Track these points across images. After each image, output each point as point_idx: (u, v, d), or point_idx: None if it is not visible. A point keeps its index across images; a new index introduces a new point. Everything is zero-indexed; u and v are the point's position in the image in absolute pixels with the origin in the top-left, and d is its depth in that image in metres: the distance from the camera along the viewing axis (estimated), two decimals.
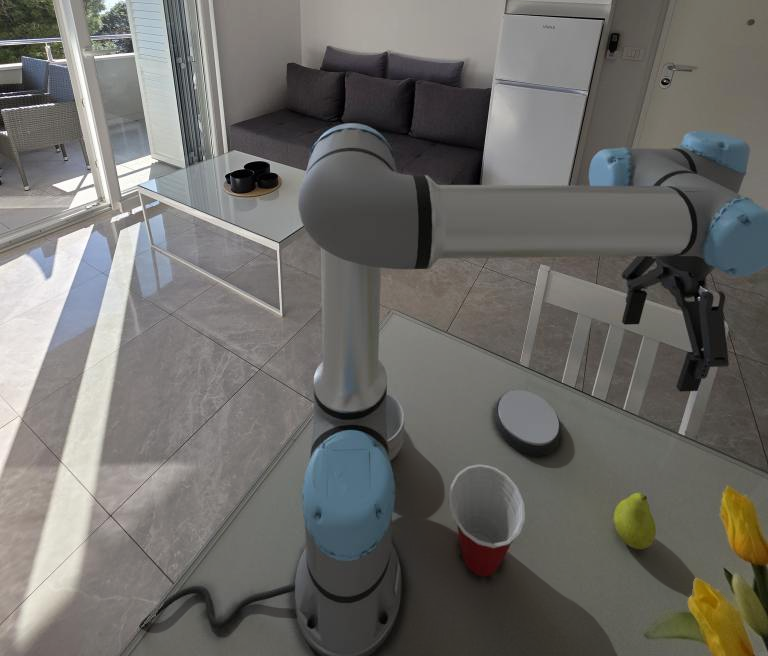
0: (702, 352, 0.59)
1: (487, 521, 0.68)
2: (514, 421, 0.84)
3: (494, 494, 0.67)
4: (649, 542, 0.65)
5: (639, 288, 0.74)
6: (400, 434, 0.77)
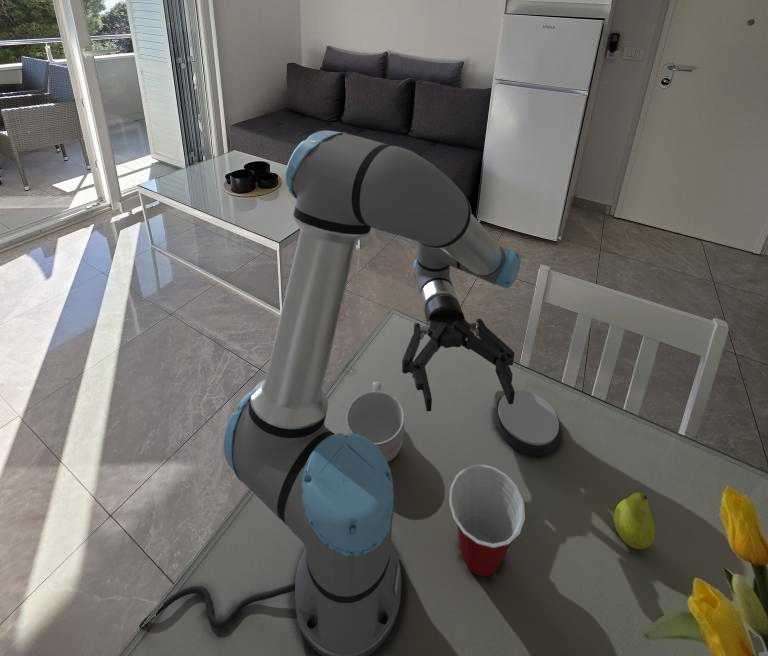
0: (502, 355, 0.77)
1: (487, 521, 0.68)
2: (514, 421, 0.84)
3: (494, 494, 0.67)
4: (649, 542, 0.65)
5: None
6: (400, 434, 0.77)
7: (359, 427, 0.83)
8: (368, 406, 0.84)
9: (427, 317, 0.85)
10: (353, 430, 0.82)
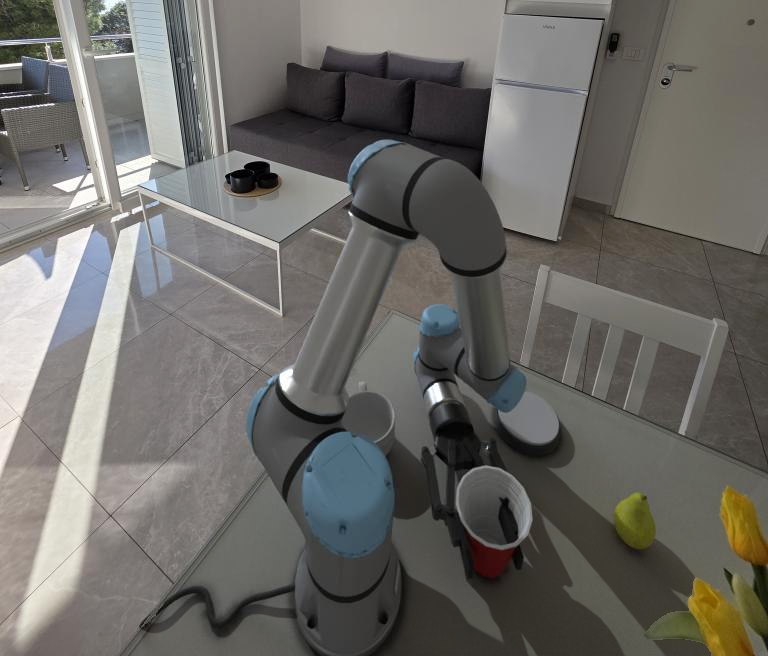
0: None
1: (493, 522, 0.68)
2: (514, 421, 0.84)
3: (500, 495, 0.67)
4: (649, 542, 0.65)
5: None
6: (392, 430, 0.78)
7: (348, 429, 0.83)
8: (356, 407, 0.84)
9: (433, 430, 0.77)
10: None
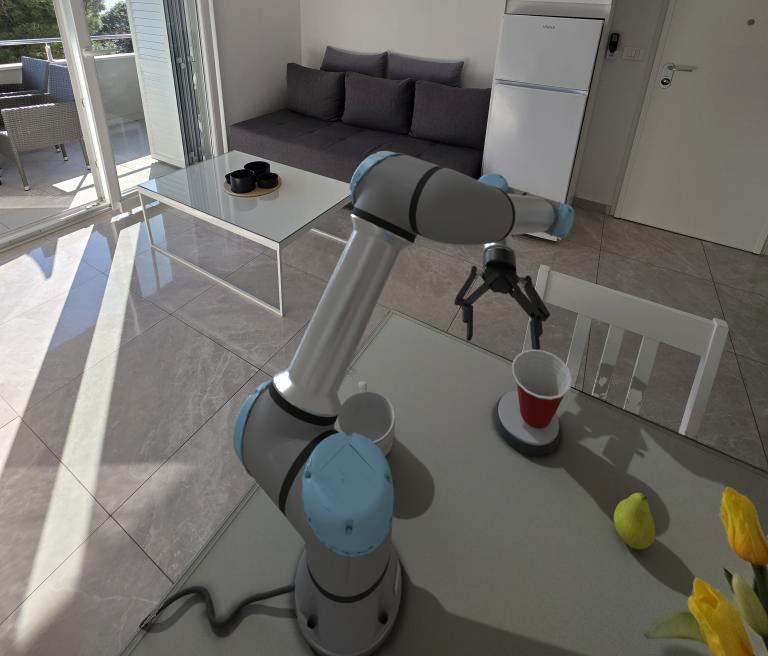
0: None
1: (539, 393, 0.87)
2: (514, 421, 0.84)
3: (544, 370, 0.86)
4: (649, 542, 0.65)
5: None
6: (392, 430, 0.78)
7: (348, 429, 0.83)
8: (356, 407, 0.84)
9: (484, 262, 1.01)
10: None
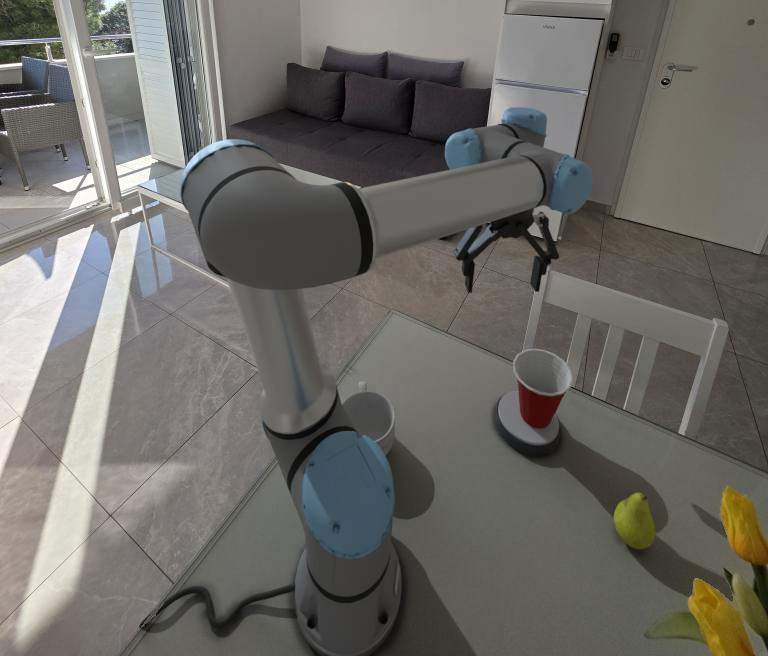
0: (547, 255, 0.83)
1: None
2: (514, 421, 0.84)
3: (545, 370, 0.86)
4: (649, 542, 0.65)
5: None
6: (392, 430, 0.78)
7: None
8: (356, 407, 0.84)
9: None
10: None
